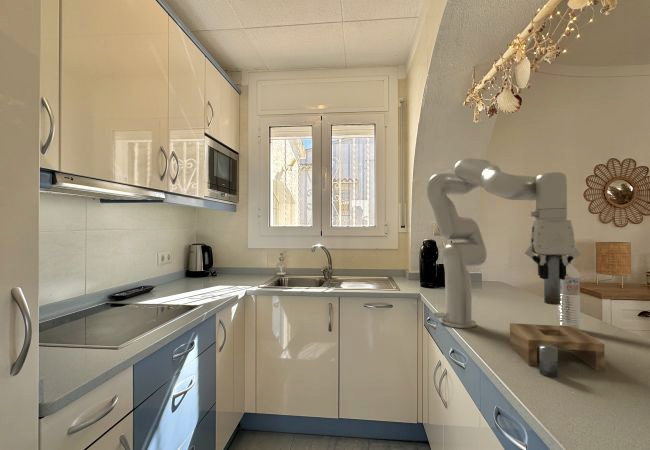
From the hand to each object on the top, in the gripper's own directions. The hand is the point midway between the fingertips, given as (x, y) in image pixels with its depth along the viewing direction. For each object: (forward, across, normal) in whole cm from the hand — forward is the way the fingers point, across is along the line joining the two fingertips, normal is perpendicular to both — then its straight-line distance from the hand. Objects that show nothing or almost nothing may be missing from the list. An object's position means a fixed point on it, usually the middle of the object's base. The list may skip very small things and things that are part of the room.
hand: (552, 278), depth 99 cm
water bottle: (+23, +17, +30) cm, 41 cm away
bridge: (+23, 0, 0) cm, 23 cm away
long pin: (+7, 0, 0) cm, 7 cm away
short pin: (+23, -6, -13) cm, 27 cm away
